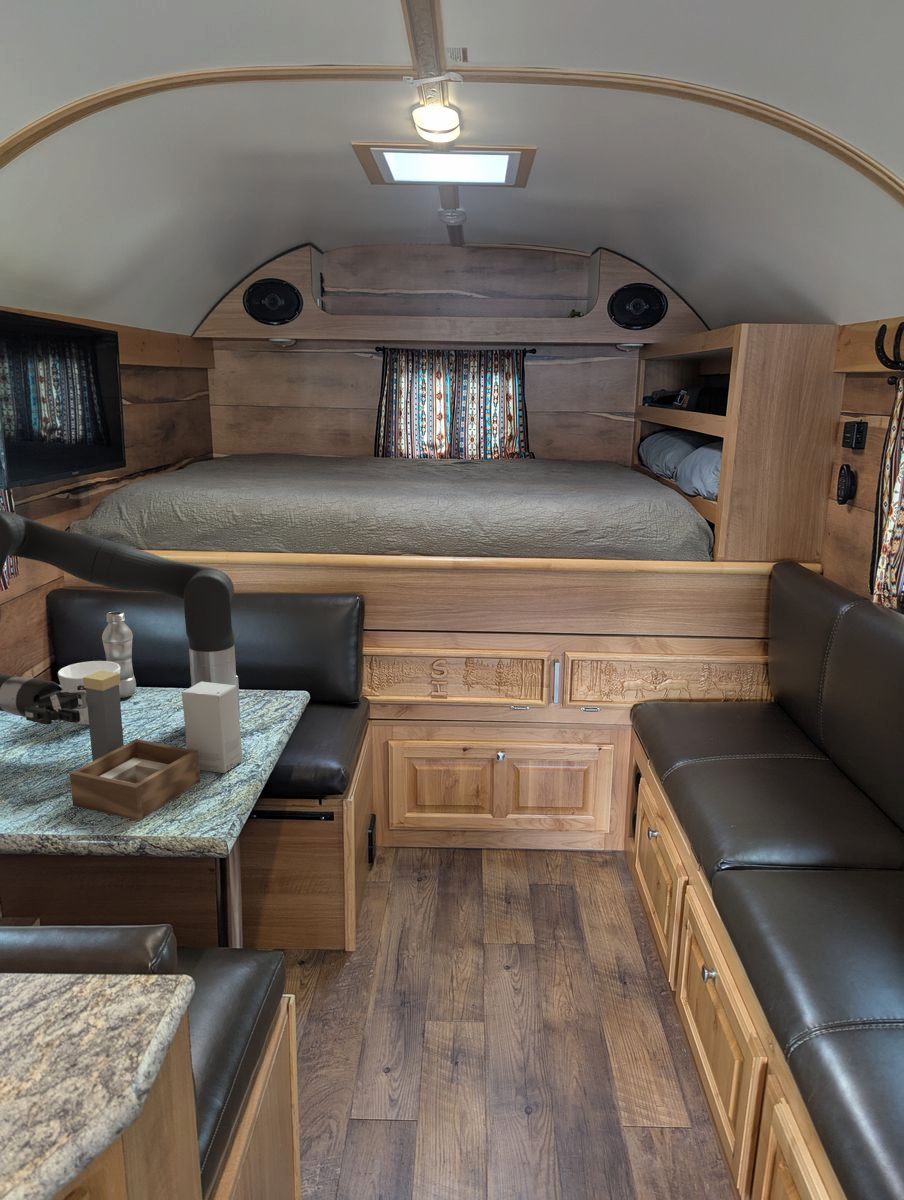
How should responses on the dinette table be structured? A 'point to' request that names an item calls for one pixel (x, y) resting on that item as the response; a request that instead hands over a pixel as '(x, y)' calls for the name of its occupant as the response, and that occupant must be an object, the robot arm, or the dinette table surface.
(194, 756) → the walnut box
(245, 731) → the dinette table surface
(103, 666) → the cup
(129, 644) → the plastic bottle
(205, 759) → the skincare box
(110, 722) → the grey plug
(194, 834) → the dinette table surface
